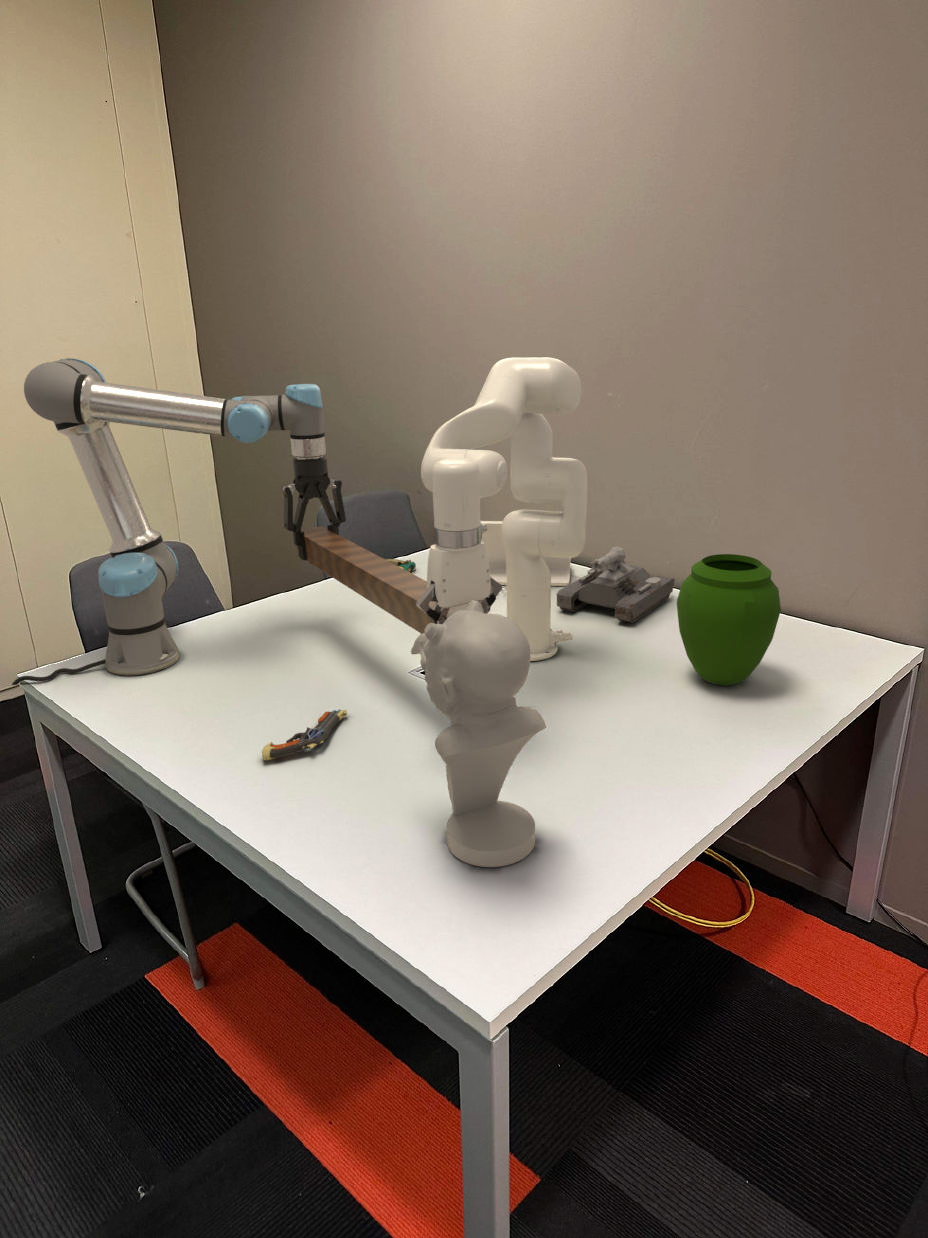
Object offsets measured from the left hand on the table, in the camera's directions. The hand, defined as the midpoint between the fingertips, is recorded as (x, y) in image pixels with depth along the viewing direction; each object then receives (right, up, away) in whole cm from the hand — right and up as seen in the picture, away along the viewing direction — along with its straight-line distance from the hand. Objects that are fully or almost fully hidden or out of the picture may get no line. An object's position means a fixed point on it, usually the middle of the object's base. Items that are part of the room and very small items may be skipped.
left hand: (318, 555), depth 198 cm
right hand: (+33, -18, -53) cm, 65 cm away
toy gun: (+5, -36, -44) cm, 58 cm away
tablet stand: (+51, -3, +42) cm, 66 cm away
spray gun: (+14, -2, +46) cm, 48 cm away
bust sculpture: (+35, -46, -72) cm, 93 cm away
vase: (+86, -27, -25) cm, 93 cm away
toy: (+72, -11, +17) cm, 75 cm away
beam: (+17, -10, -26) cm, 33 cm away
